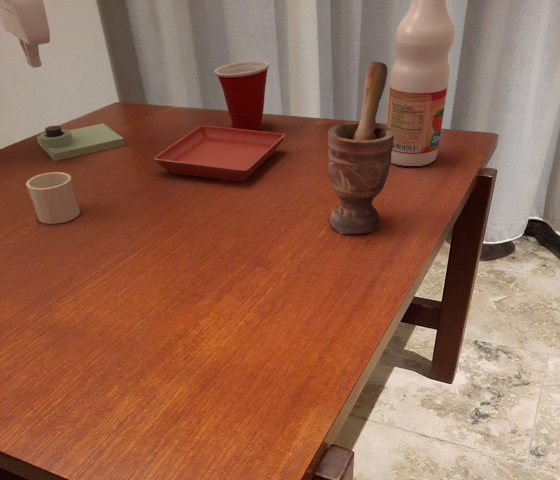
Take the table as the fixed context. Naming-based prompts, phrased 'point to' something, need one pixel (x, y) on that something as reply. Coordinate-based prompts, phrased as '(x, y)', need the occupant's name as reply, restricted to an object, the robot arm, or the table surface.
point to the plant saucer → (220, 152)
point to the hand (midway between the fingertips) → (35, 65)
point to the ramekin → (53, 197)
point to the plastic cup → (244, 92)
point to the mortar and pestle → (360, 160)
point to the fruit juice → (419, 82)
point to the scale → (80, 141)
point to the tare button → (53, 131)
